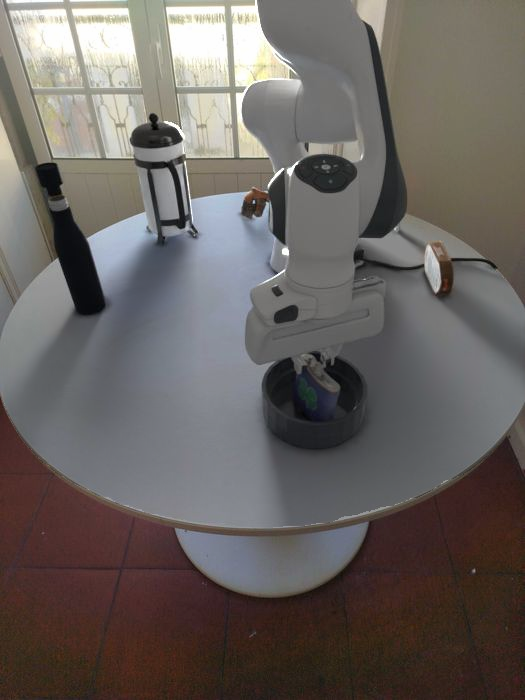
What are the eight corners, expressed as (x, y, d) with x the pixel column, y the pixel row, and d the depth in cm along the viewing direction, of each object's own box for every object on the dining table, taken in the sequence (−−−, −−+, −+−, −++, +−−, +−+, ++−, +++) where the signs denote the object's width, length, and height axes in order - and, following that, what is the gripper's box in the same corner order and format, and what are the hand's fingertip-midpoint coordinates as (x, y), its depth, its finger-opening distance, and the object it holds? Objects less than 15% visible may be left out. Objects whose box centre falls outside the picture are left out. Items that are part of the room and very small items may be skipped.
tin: (449, 303, 99) (459, 268, 93) (434, 303, 99) (443, 268, 94) (432, 266, 110) (440, 233, 105) (419, 266, 110) (426, 233, 105)
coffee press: (131, 242, 124) (103, 120, 105) (163, 217, 135) (143, 103, 116) (188, 253, 119) (170, 126, 99) (217, 226, 130) (205, 108, 110)
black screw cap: (334, 367, 84) (337, 341, 81) (381, 432, 73) (387, 406, 69) (249, 390, 81) (248, 364, 77) (284, 463, 69) (285, 437, 65)
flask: (334, 428, 73) (346, 379, 66) (319, 435, 72) (329, 386, 65) (302, 390, 79) (309, 341, 72) (287, 396, 78) (293, 347, 71)
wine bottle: (98, 316, 99) (53, 173, 79) (70, 313, 100) (19, 171, 80) (111, 299, 103) (72, 160, 84) (85, 296, 104) (40, 159, 85)
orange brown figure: (236, 211, 138) (246, 183, 136) (264, 222, 142) (275, 196, 139) (242, 217, 128) (253, 187, 125) (273, 229, 131) (285, 201, 128)
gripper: (376, 263, 66) (364, 339, 75) (238, 292, 61) (243, 370, 70) (400, 285, 62) (385, 363, 71) (253, 319, 57) (257, 398, 66)
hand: (313, 367), depth 70 cm, fingers closed on flask, 3 cm apart
